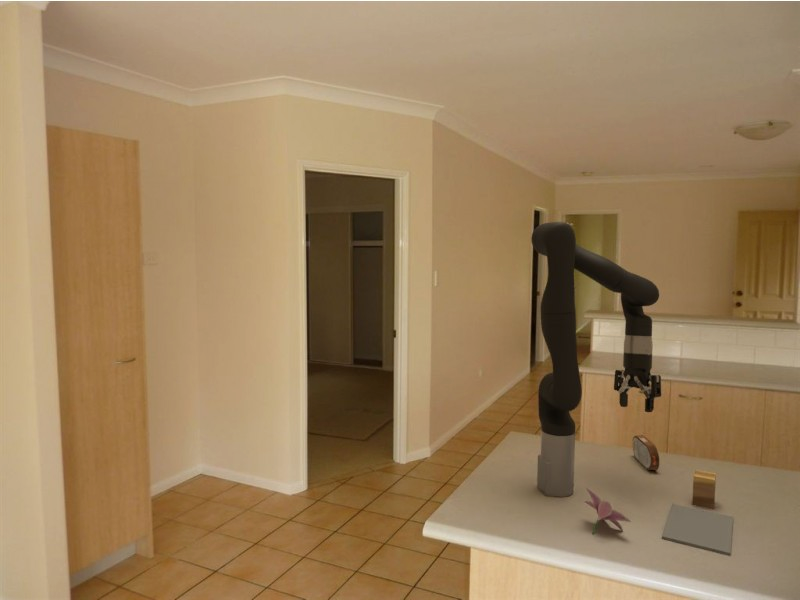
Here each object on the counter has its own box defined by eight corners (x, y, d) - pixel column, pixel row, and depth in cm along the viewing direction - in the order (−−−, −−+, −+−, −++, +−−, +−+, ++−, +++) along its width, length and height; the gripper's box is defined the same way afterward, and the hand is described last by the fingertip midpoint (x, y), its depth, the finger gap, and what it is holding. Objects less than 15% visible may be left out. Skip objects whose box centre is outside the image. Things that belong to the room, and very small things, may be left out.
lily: (632, 550, 131) (642, 509, 134) (586, 531, 131) (597, 490, 133) (606, 540, 143) (617, 502, 145) (564, 522, 142) (575, 485, 145)
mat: (730, 555, 127) (730, 552, 127) (661, 538, 134) (661, 536, 134) (732, 518, 144) (733, 516, 144) (672, 505, 151) (672, 503, 151)
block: (713, 509, 149) (715, 480, 148) (692, 504, 152) (693, 475, 151) (714, 502, 153) (716, 473, 152) (693, 497, 156) (695, 469, 155)
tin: (660, 474, 172) (661, 447, 171) (649, 474, 172) (650, 447, 171) (640, 456, 187) (641, 431, 186) (630, 456, 187) (631, 431, 186)
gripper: (608, 349, 165) (606, 405, 165) (649, 353, 152) (647, 414, 152) (627, 350, 168) (625, 404, 168) (668, 354, 156) (667, 413, 155)
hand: (636, 409), depth 160 cm, fingers open, 8 cm apart
